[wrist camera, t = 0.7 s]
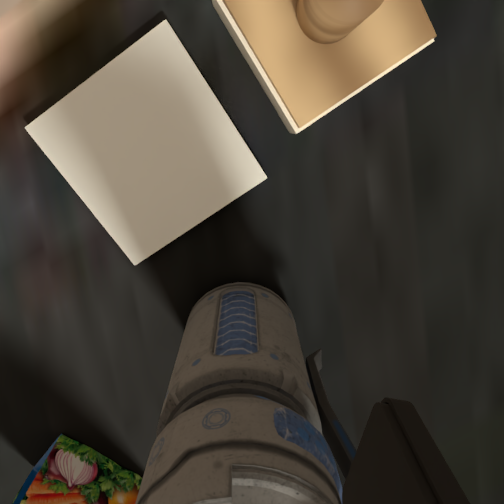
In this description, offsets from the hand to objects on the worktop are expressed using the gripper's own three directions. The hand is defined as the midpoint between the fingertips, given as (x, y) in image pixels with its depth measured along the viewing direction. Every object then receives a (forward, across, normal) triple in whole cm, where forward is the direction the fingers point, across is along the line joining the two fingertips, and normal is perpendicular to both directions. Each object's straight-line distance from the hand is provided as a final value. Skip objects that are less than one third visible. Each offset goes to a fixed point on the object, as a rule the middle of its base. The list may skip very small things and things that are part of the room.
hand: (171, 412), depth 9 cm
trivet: (+27, +7, -2) cm, 28 cm away
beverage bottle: (+27, -4, +12) cm, 30 cm away
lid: (+22, -4, -14) cm, 27 cm away
